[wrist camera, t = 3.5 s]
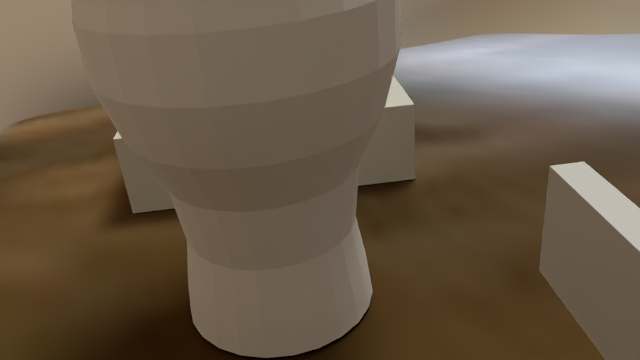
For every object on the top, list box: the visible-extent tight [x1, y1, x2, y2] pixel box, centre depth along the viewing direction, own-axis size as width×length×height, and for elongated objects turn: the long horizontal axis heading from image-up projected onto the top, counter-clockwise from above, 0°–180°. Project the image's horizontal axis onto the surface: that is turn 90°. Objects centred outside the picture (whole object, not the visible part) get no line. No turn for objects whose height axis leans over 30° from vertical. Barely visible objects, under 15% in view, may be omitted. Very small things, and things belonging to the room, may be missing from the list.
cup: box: [71, 0, 401, 358], centre depth 22 cm, size 11×11×15 cm
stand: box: [113, 76, 415, 213], centre depth 39 cm, size 16×16×5 cm
